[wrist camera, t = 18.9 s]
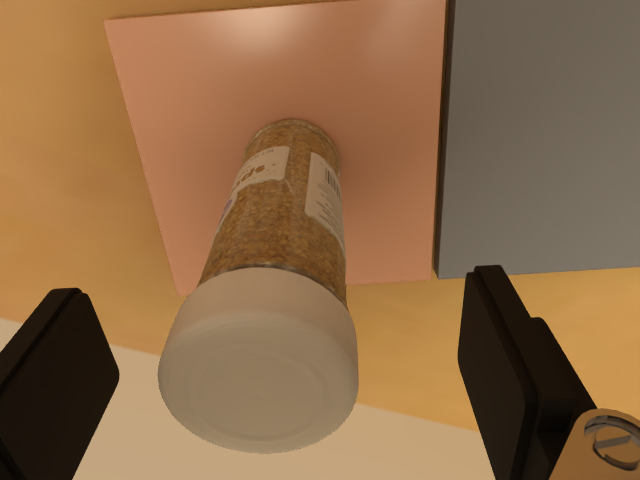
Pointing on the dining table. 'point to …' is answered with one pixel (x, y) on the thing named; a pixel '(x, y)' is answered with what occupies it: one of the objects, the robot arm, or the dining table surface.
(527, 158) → the gray tile
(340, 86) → the terracotta tile
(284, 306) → the sprinkles bottle
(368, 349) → the dining table surface
